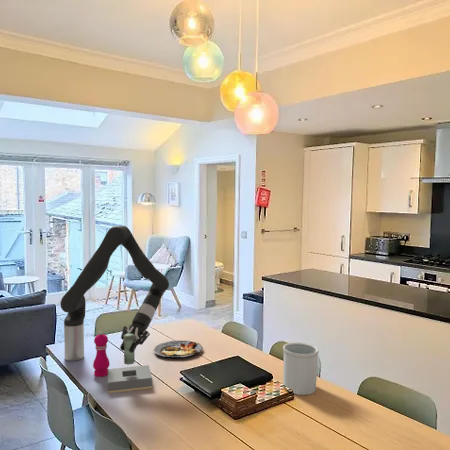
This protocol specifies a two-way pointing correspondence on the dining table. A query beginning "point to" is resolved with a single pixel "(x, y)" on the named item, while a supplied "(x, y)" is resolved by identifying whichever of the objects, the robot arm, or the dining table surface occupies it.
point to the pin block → (129, 378)
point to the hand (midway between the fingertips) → (126, 350)
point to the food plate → (178, 349)
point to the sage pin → (128, 356)
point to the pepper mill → (101, 356)
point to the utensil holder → (300, 367)
